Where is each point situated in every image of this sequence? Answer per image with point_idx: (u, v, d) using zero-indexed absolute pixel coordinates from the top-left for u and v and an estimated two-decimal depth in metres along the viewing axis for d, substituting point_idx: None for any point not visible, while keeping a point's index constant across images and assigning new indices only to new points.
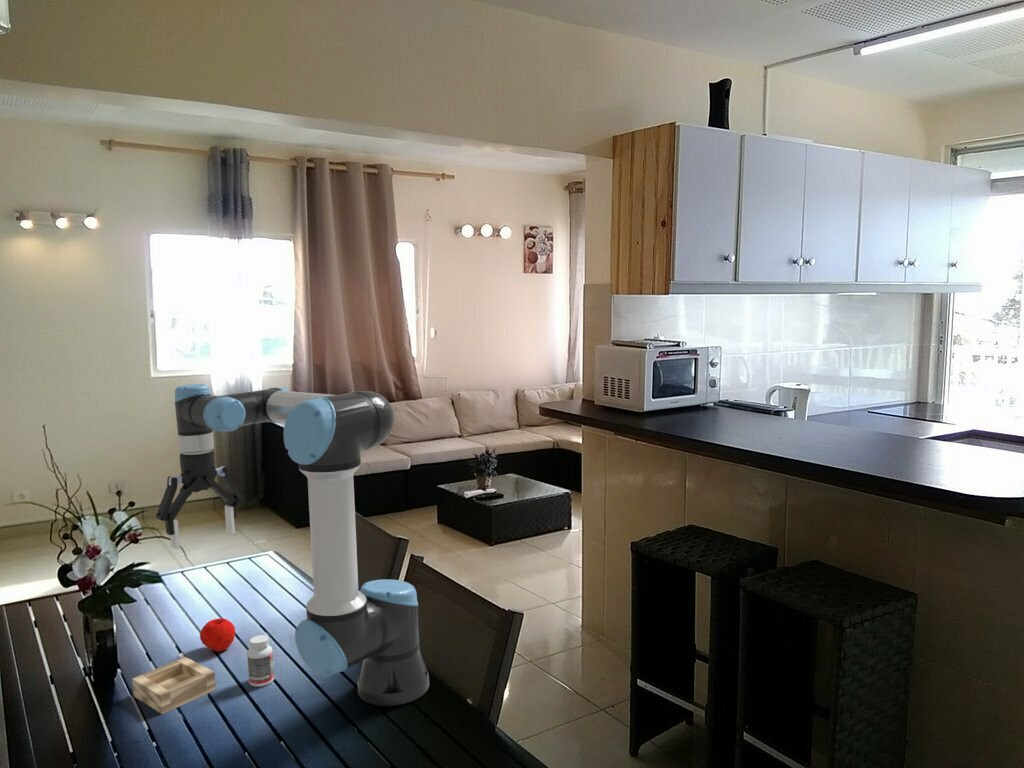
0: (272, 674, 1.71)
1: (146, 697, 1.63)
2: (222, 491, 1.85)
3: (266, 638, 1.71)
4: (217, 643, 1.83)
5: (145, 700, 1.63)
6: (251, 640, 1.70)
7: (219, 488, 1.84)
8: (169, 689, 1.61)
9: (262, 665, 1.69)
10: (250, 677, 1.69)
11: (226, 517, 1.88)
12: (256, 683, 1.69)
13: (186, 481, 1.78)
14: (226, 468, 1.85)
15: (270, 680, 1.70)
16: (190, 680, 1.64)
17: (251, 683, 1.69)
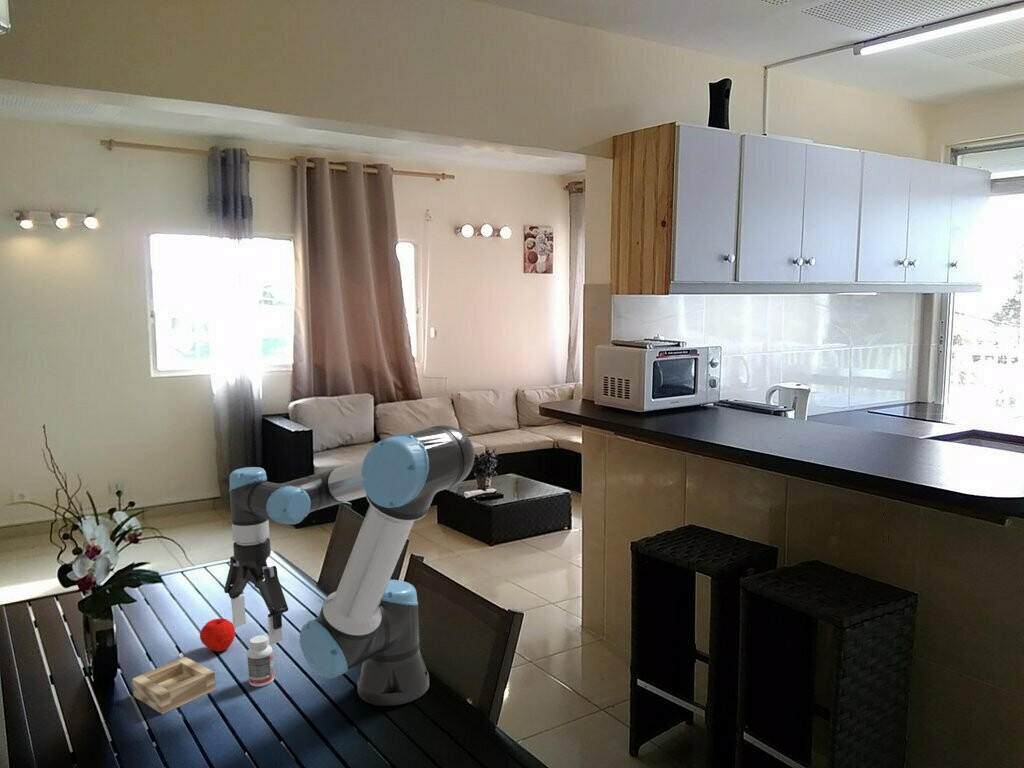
0: (272, 674, 1.71)
1: (146, 697, 1.63)
2: (262, 593, 1.65)
3: (266, 638, 1.71)
4: (217, 643, 1.83)
5: (145, 700, 1.63)
6: (251, 640, 1.70)
7: (260, 588, 1.65)
8: (169, 689, 1.61)
9: (262, 665, 1.69)
10: (250, 677, 1.69)
11: None
12: (256, 683, 1.69)
13: (239, 565, 1.70)
14: (265, 571, 1.63)
15: (270, 680, 1.70)
16: (190, 680, 1.64)
17: (251, 683, 1.69)
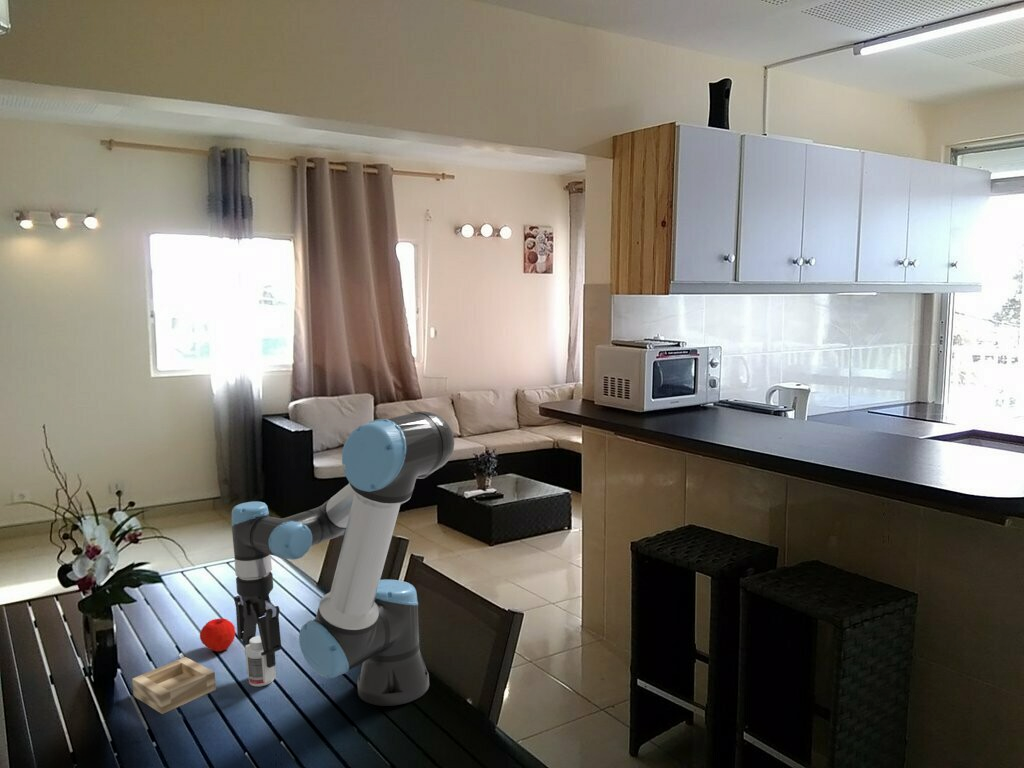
0: None
1: (146, 697, 1.63)
2: (260, 630, 1.67)
3: None
4: (217, 643, 1.83)
5: (145, 700, 1.63)
6: (251, 640, 1.70)
7: (259, 625, 1.67)
8: (169, 689, 1.61)
9: None
10: (250, 677, 1.69)
11: None
12: (256, 683, 1.69)
13: (243, 600, 1.70)
14: (268, 611, 1.64)
15: (270, 680, 1.70)
16: (190, 680, 1.64)
17: (251, 683, 1.69)
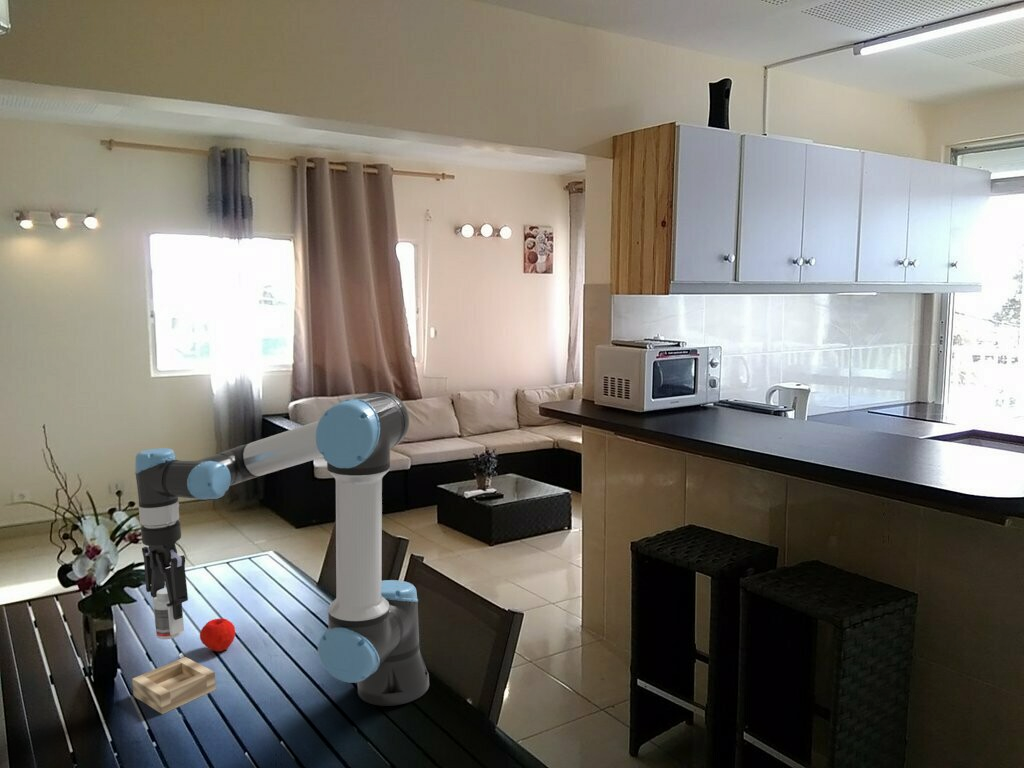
0: None
1: (146, 697, 1.63)
2: (166, 581, 1.62)
3: None
4: (217, 643, 1.83)
5: (145, 700, 1.63)
6: (158, 591, 1.64)
7: (165, 575, 1.62)
8: (169, 689, 1.61)
9: None
10: (157, 629, 1.64)
11: None
12: (163, 636, 1.63)
13: (150, 551, 1.65)
14: (172, 560, 1.59)
15: (178, 633, 1.65)
16: (190, 680, 1.64)
17: (158, 636, 1.64)
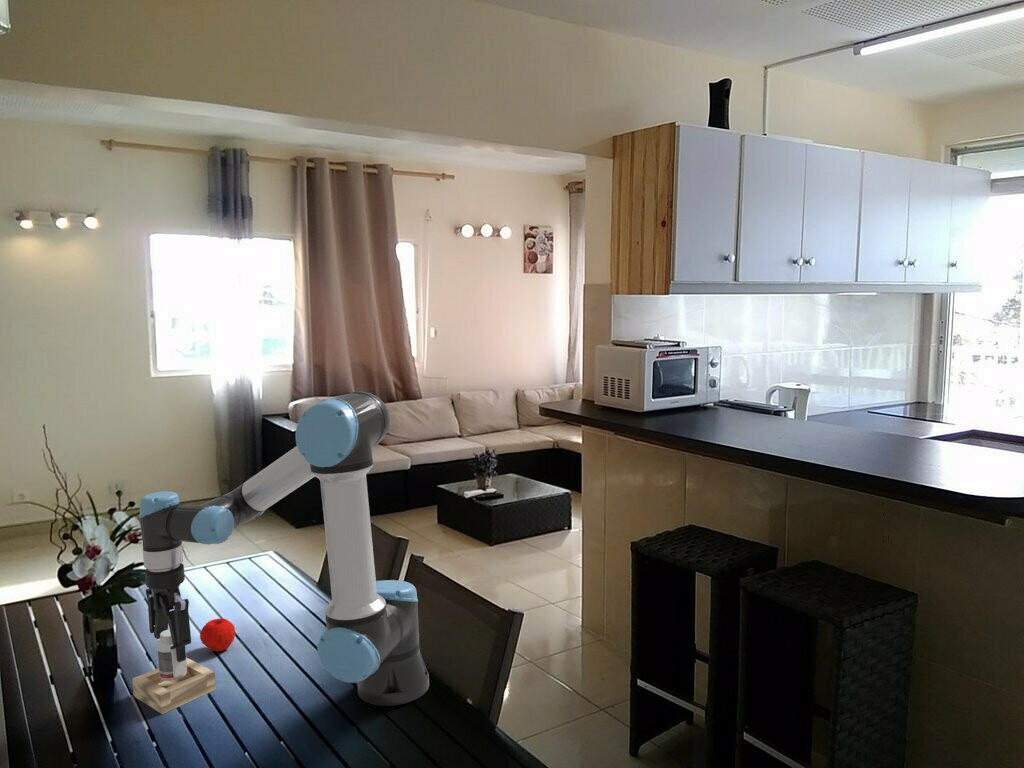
0: None
1: (146, 697, 1.63)
2: (170, 623, 1.63)
3: None
4: (217, 643, 1.83)
5: (145, 700, 1.63)
6: (162, 633, 1.65)
7: (169, 618, 1.63)
8: (169, 689, 1.61)
9: None
10: (160, 671, 1.65)
11: None
12: (166, 678, 1.64)
13: (154, 593, 1.66)
14: (176, 604, 1.60)
15: None
16: (190, 680, 1.64)
17: (161, 678, 1.65)
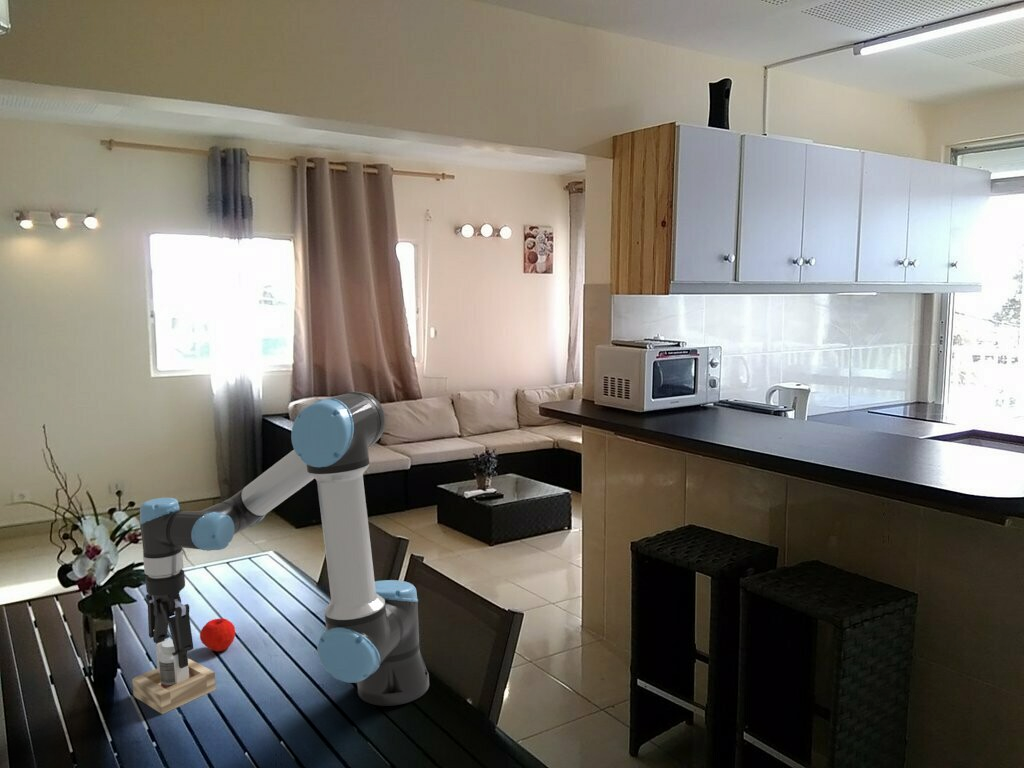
0: None
1: (146, 697, 1.63)
2: (171, 629, 1.63)
3: None
4: (217, 643, 1.83)
5: (145, 700, 1.63)
6: (163, 644, 1.66)
7: (170, 624, 1.63)
8: (169, 689, 1.61)
9: None
10: (162, 682, 1.65)
11: None
12: None
13: (154, 599, 1.66)
14: (176, 610, 1.60)
15: None
16: (190, 680, 1.64)
17: None
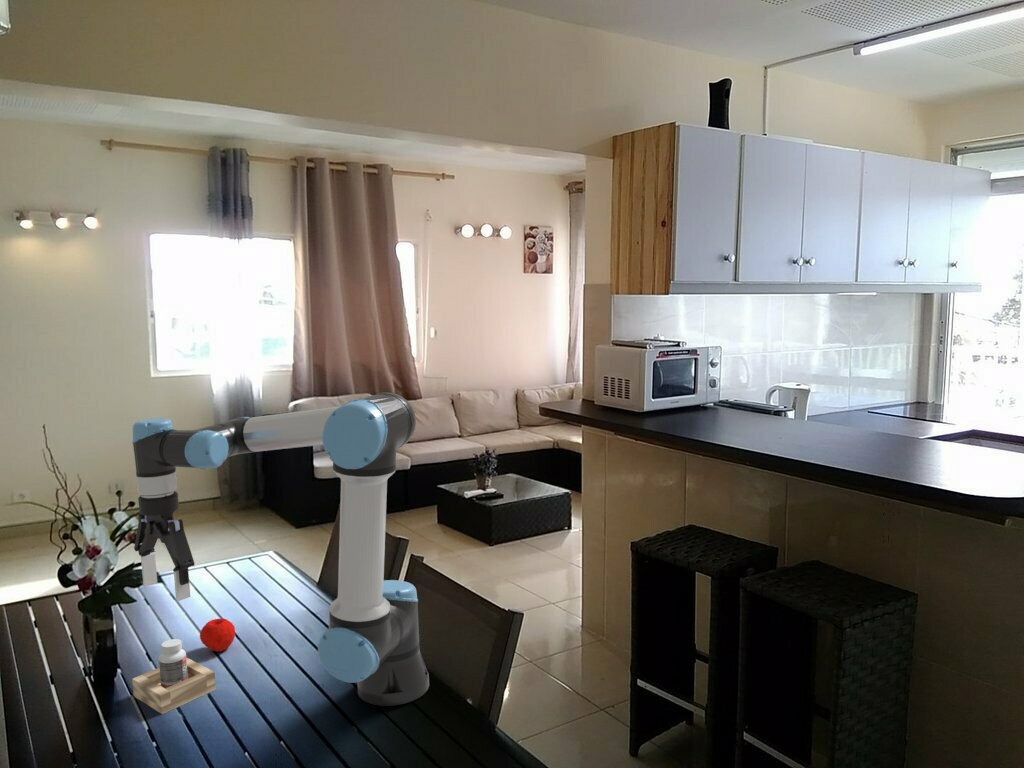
0: (185, 679, 1.67)
1: (146, 697, 1.63)
2: (168, 547, 1.59)
3: (179, 642, 1.66)
4: (217, 643, 1.83)
5: (145, 700, 1.63)
6: (163, 644, 1.66)
7: (166, 543, 1.60)
8: (169, 689, 1.61)
9: (174, 669, 1.64)
10: (162, 682, 1.65)
11: None
12: None
13: (147, 521, 1.64)
14: (169, 524, 1.58)
15: None
16: (190, 680, 1.64)
17: None
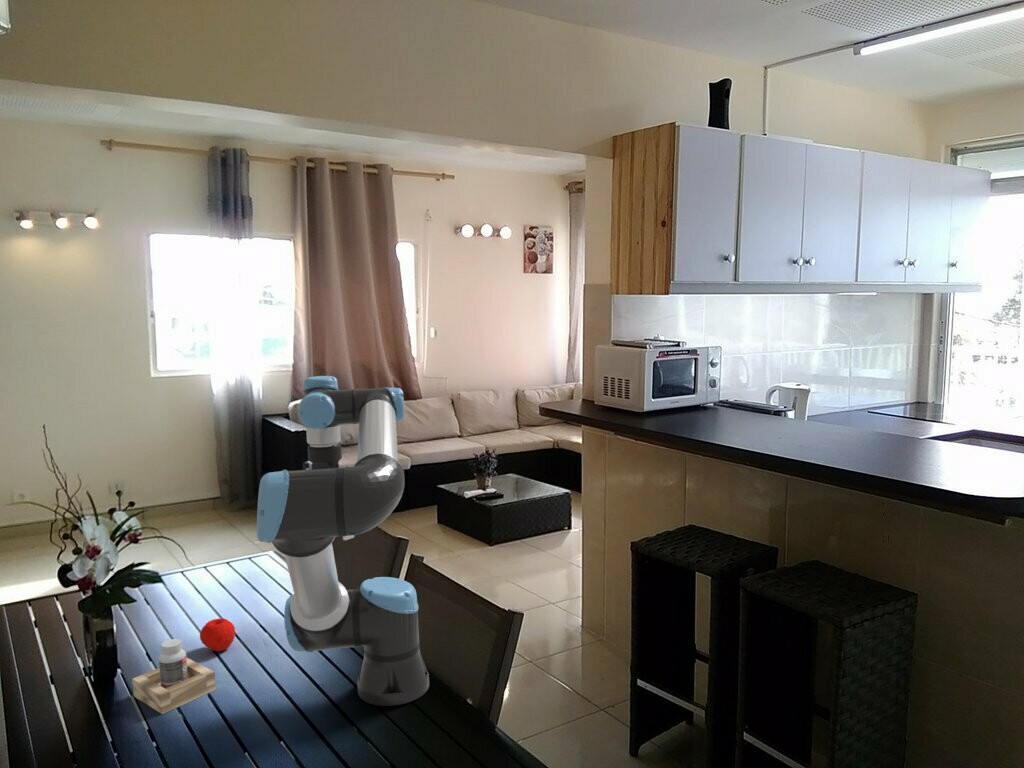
0: (185, 679, 1.67)
1: (146, 697, 1.63)
2: None
3: (179, 642, 1.66)
4: (217, 643, 1.83)
5: (145, 700, 1.63)
6: (163, 644, 1.66)
7: None
8: (169, 689, 1.61)
9: (174, 669, 1.64)
10: (162, 682, 1.65)
11: None
12: None
13: None
14: None
15: None
16: (190, 680, 1.64)
17: None
